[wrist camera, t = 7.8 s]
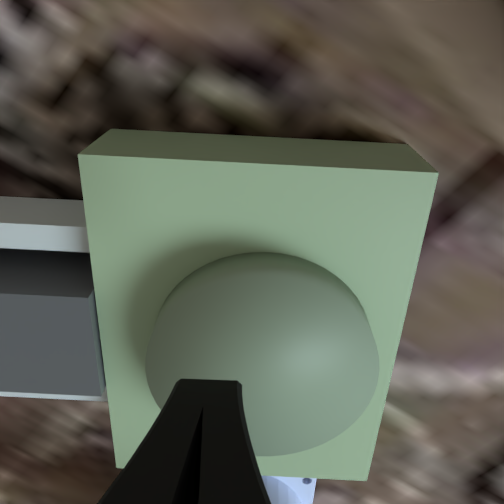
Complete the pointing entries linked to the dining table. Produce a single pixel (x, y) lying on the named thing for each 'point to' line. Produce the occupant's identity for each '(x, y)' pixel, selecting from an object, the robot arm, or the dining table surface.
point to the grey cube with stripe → (49, 324)
